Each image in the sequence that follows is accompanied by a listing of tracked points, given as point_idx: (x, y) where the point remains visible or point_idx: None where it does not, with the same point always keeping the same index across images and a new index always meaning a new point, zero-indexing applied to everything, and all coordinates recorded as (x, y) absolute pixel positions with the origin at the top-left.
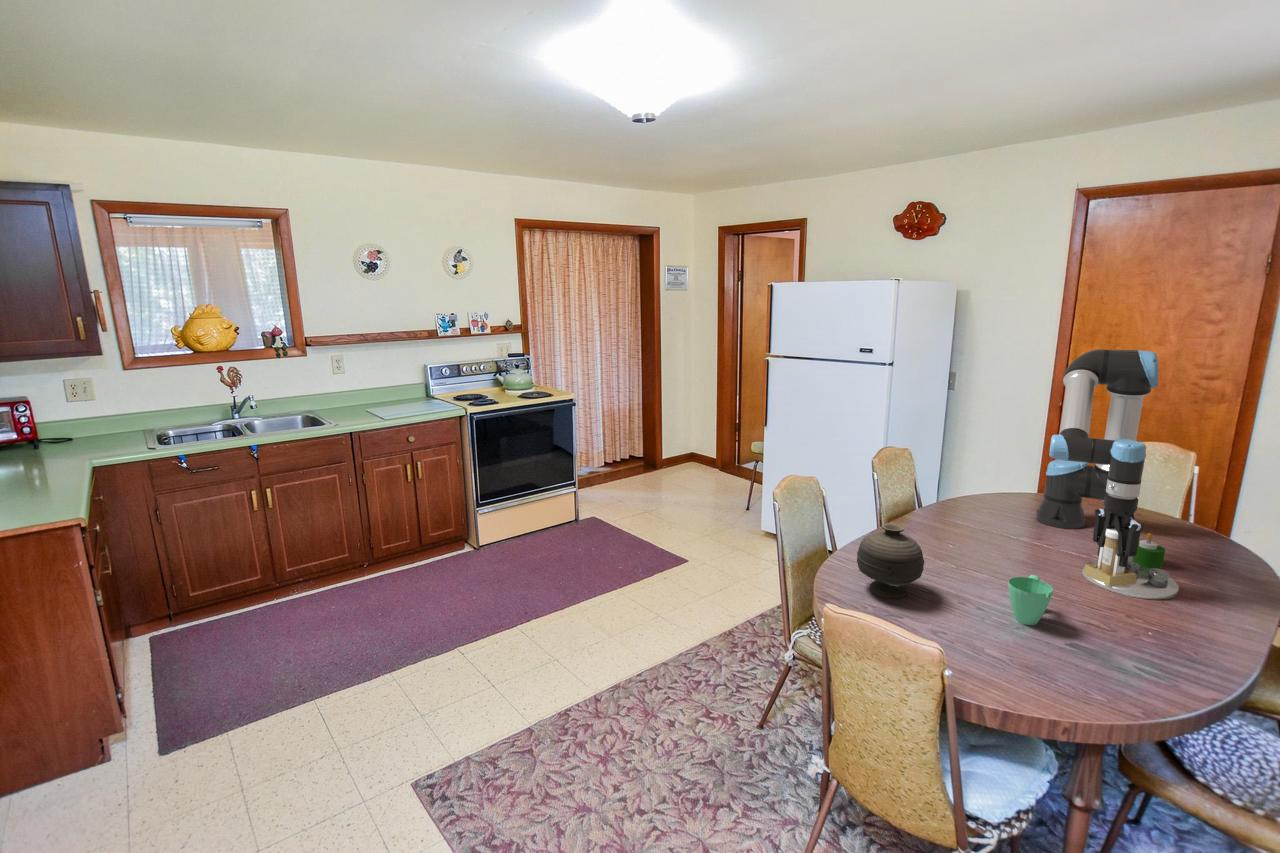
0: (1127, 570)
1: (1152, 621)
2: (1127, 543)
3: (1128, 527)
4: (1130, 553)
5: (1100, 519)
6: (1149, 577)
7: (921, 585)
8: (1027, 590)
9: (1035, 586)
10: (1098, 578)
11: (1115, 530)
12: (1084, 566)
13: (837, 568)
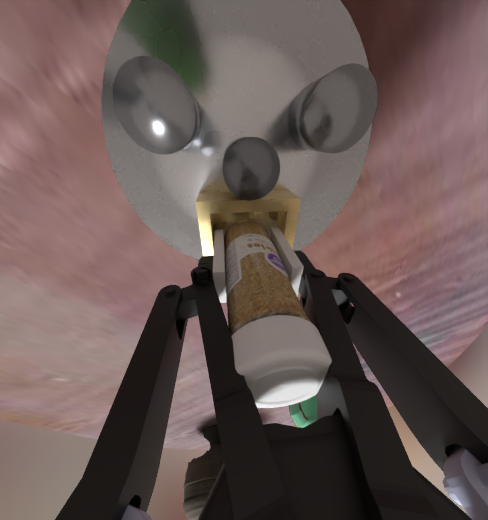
0: (270, 205)
1: (386, 267)
2: (363, 351)
3: (382, 425)
4: (353, 307)
5: (155, 469)
6: (313, 150)
7: (213, 416)
8: (305, 411)
9: (314, 417)
10: None
11: (279, 388)
12: (165, 239)
13: (170, 446)
